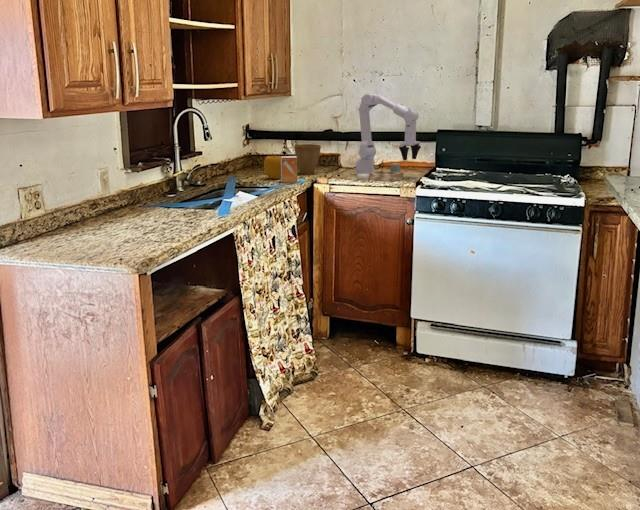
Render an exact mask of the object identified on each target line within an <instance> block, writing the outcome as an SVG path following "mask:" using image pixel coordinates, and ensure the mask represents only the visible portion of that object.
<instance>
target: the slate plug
mask: <svg viewBox="0 0 640 510" xmlns="http://www.w3.org/2000/svg"><path fill="white" fill-rule="evenodd" d="M389 171H392V172H401V164H399V163H397V162H392V164H390V167H389Z"/></svg>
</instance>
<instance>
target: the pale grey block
mask: <svg viewBox="0 0 640 510" xmlns="http://www.w3.org/2000/svg"><path fill="white" fill-rule="evenodd" d="M356 180H357V181H370V180H369V174H366V173H360V174H356Z"/></svg>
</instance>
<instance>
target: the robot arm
mask: <svg viewBox="0 0 640 510" xmlns="http://www.w3.org/2000/svg"><path fill="white" fill-rule="evenodd" d="M360 98H361V99H360V100H361V101H360V103H359V108H358V113H359V123H360V124H359V125H360V136H361V142H360V143H359V149H358V156H359V158H357V160H356V162H355V175H357V174H360V173H366V174H369V173H372V172H375V170H374V169H375V167H374V165H375V163H374V162H375V159H374V158H375V156H376V154H377V148H376V147H375V143H374V142H373V140H372V131H371V130H372V129H371V116H370V111H371V110H372V109H373V108H374V107H376V106H378V105H383V106H385V107H386V108H388V109H391V110H392V111H393V114H395V115H397V116H398V117H400V118H403V120H404V122H405V123H404V124H405V125H404V141H403V142H399V146H398V150H399V151H400V154H401V156H402V161H407V160H408V152H409V150H410V151H411V159H412V160H416V159H417V156H418V154H419V151H420V150H421V148H422V147H421V141H418V140H417V139H416V138H417V134H416V133H417V120H418V119H419V113H418V112H417V111H416V110H415V109H412V108H411V107H407V106H405V105H404V103H399V102H398V103H395V102H394V101H392V100H390V99H388V98H386V97H385V96H383V95H382V94H379V93H377V92H373V93H370V92H369V93H367V92H366V93H364V95H362V97H360Z"/></svg>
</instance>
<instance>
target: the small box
mask: <svg viewBox="0 0 640 510" xmlns="http://www.w3.org/2000/svg"><path fill="white" fill-rule="evenodd" d="M280 181H281V183H288V184H289V183H298V163H297V157H296V155H288V156H287V155H285V156H282V155H281V178H280Z"/></svg>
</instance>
